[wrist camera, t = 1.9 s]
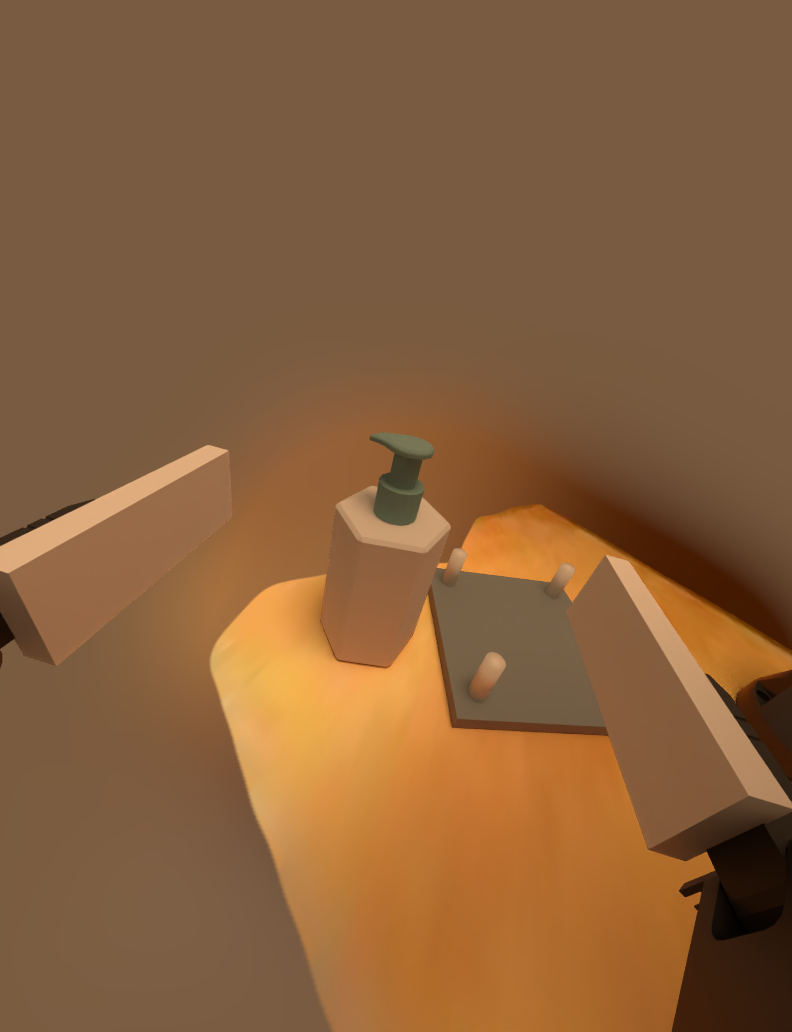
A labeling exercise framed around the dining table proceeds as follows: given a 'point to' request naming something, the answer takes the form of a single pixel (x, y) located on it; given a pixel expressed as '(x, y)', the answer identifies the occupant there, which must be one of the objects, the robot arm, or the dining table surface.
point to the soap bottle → (382, 559)
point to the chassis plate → (511, 653)
